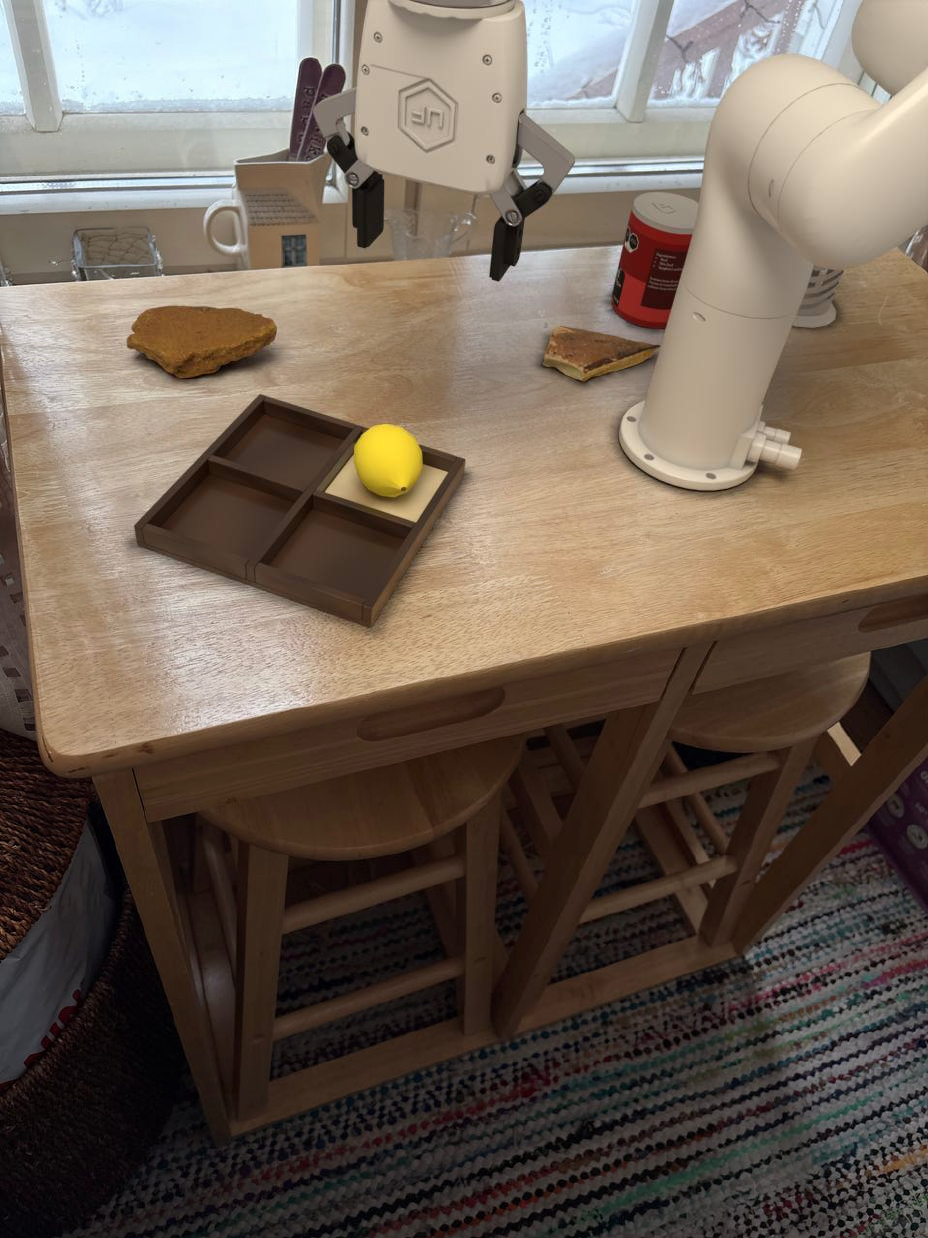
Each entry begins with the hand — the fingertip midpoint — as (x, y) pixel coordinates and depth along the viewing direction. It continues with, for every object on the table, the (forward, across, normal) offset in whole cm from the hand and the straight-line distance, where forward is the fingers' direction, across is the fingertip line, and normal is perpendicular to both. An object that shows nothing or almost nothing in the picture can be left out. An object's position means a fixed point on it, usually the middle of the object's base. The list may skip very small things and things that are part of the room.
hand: (434, 255), depth 68 cm
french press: (+21, +27, +47) cm, 58 cm away
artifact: (+19, -25, +7) cm, 32 cm away
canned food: (+20, +12, +36) cm, 43 cm away
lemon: (+18, -2, -4) cm, 19 cm away
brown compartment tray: (+19, -6, -8) cm, 22 cm away
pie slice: (+20, +8, +25) cm, 33 cm away
